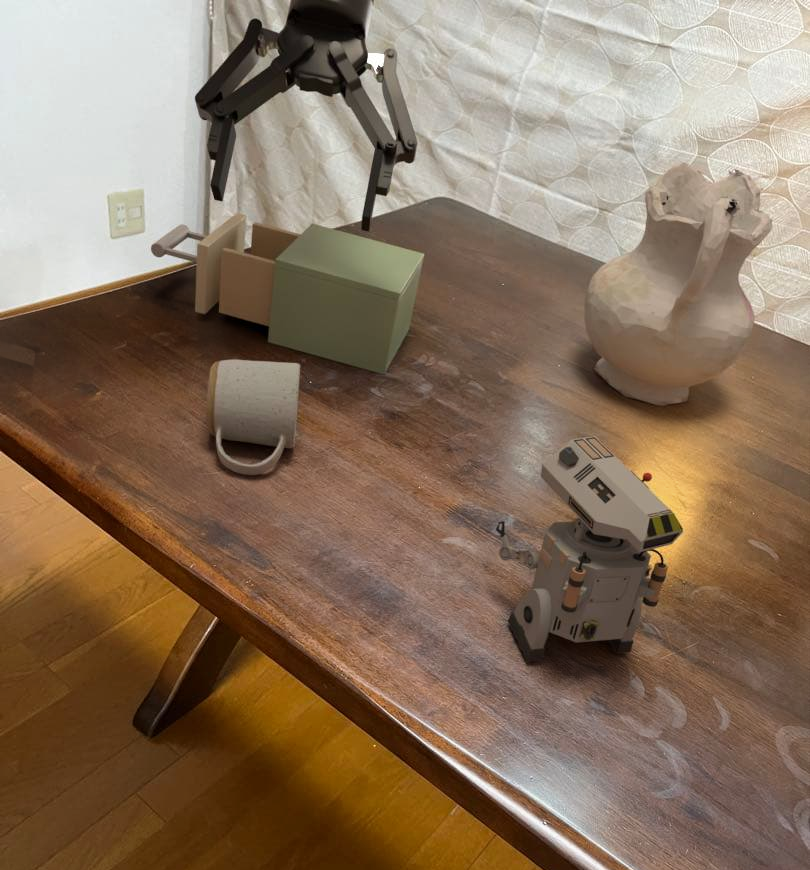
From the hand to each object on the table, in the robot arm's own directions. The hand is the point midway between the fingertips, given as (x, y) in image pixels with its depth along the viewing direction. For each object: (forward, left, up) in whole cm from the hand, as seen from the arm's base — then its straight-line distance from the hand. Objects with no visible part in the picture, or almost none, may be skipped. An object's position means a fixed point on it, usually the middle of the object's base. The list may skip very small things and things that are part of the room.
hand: (291, 209), depth 78 cm
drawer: (-9, +15, -17) cm, 25 cm away
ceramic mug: (+2, -11, -18) cm, 22 cm away
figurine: (+32, -23, -18) cm, 44 cm away
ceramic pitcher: (+39, +24, -18) cm, 49 cm away
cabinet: (+3, +15, -18) cm, 24 cm away
